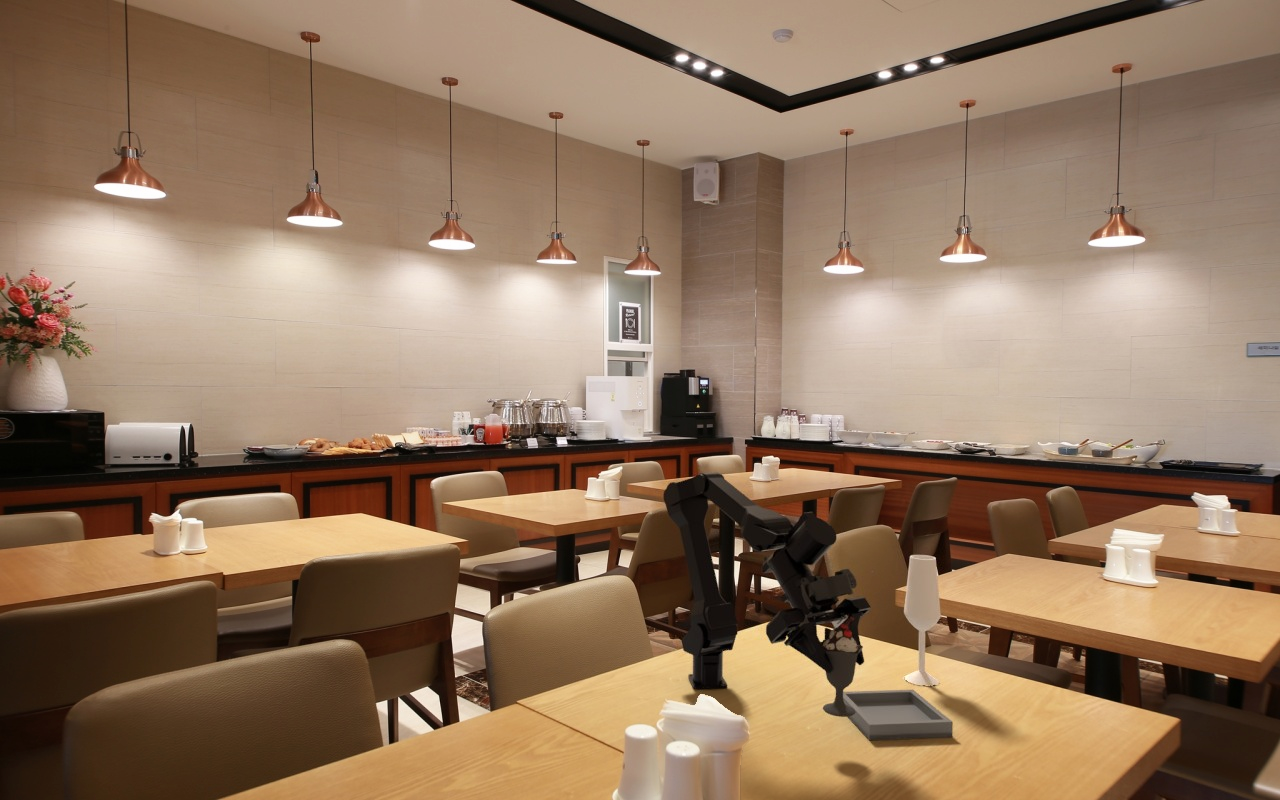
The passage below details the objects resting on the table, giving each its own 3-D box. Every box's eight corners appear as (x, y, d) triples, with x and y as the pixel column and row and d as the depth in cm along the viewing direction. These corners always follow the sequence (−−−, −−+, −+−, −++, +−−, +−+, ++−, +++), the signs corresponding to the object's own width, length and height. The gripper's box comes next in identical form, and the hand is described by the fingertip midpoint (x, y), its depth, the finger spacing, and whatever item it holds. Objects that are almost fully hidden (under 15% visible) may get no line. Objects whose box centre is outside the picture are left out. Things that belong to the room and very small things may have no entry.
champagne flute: (902, 683, 149) (903, 559, 149) (904, 672, 156) (905, 552, 156) (939, 688, 147) (940, 562, 147) (940, 677, 153) (941, 555, 153)
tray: (837, 705, 138) (837, 691, 138) (913, 703, 140) (913, 689, 140) (869, 740, 124) (869, 724, 124) (952, 737, 126) (952, 721, 126)
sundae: (863, 721, 117) (865, 621, 117) (817, 716, 118) (819, 618, 118) (860, 704, 123) (861, 610, 123) (816, 700, 125) (818, 607, 125)
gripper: (779, 558, 119) (832, 651, 110) (863, 547, 129) (917, 631, 120) (745, 598, 126) (792, 688, 116) (827, 584, 136) (876, 666, 126)
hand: (846, 667), depth 120 cm, fingers closed on sundae, 6 cm apart
